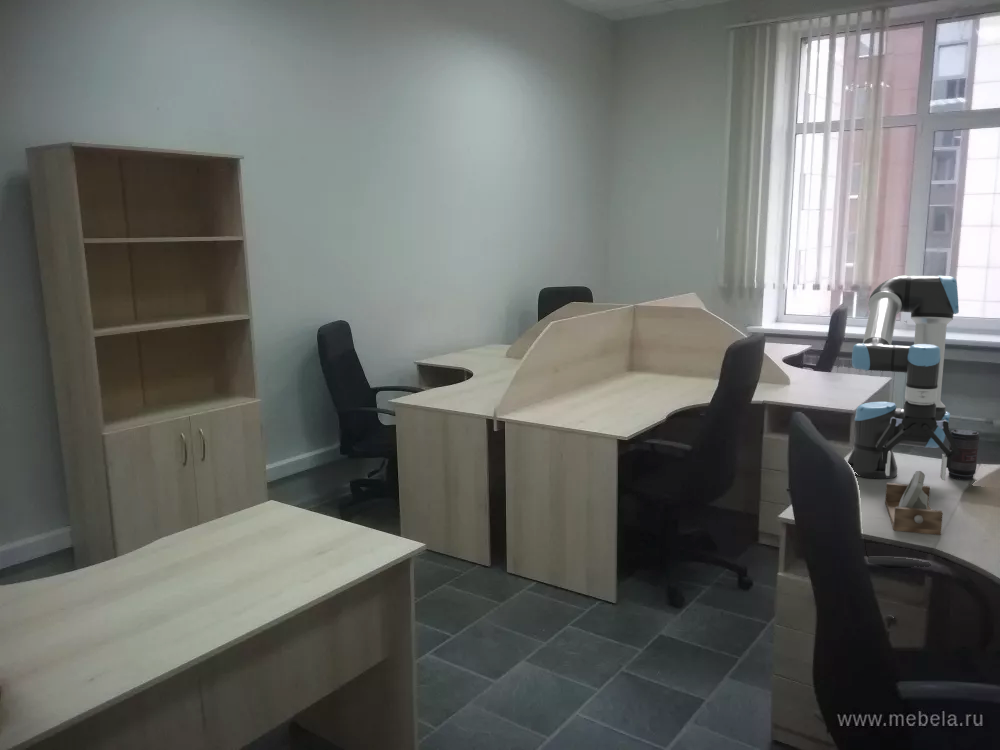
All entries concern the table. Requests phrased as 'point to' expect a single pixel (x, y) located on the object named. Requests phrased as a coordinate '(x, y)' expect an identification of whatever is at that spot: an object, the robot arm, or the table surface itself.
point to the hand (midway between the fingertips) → (914, 476)
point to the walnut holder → (911, 512)
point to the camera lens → (964, 454)
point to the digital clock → (915, 493)
